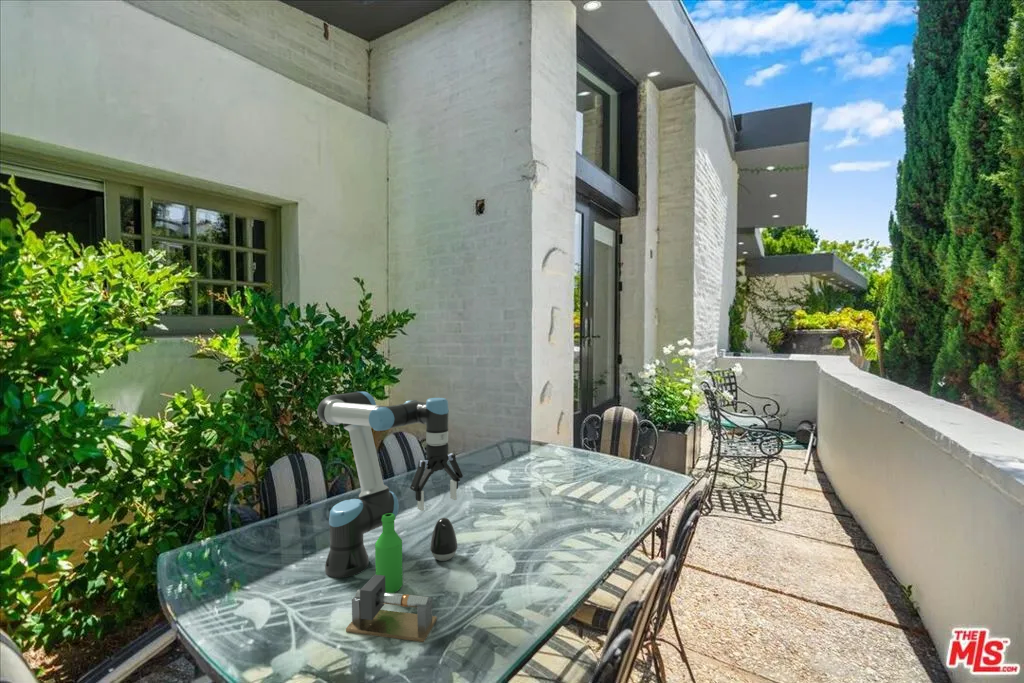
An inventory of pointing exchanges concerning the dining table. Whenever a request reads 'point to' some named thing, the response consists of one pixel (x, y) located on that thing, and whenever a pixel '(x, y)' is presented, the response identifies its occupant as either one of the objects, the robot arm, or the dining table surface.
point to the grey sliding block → (371, 597)
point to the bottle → (389, 555)
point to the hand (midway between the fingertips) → (437, 504)
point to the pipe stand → (395, 617)
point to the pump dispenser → (443, 540)
